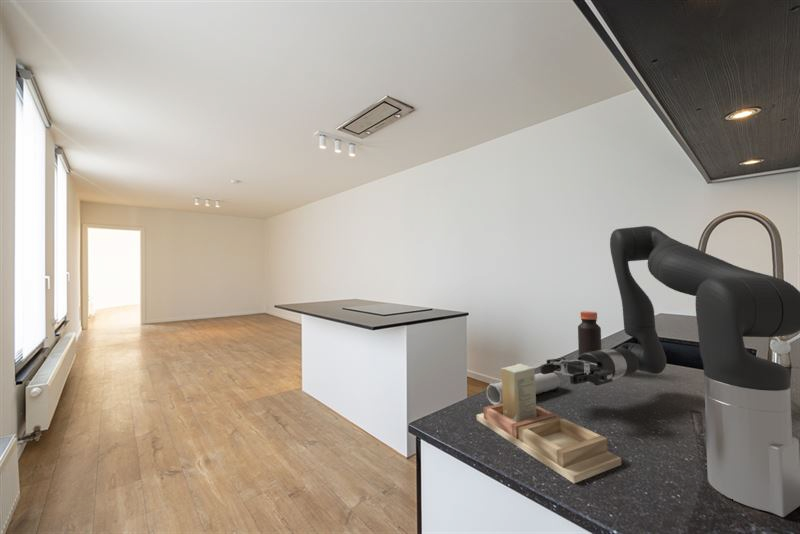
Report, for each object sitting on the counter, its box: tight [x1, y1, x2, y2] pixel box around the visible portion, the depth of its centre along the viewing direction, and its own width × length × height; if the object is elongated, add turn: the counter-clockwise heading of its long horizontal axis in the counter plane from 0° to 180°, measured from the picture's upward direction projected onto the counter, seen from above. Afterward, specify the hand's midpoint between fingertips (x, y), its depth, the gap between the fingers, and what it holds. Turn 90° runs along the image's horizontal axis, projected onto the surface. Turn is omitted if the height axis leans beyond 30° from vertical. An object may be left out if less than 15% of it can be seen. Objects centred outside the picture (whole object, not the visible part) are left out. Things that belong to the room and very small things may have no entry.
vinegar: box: [577, 311, 602, 357], centre depth 113 cm, size 7×7×20 cm
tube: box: [486, 372, 561, 405], centre depth 92 cm, size 5×5×25 cm
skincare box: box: [501, 363, 537, 423], centre depth 74 cm, size 6×4×12 cm
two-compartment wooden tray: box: [476, 403, 622, 484], centre depth 68 cm, size 26×12×4 cm, turn 24°
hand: (555, 374), depth 78 cm, fingers open, 8 cm apart
